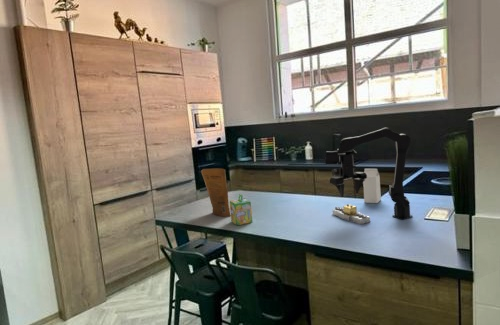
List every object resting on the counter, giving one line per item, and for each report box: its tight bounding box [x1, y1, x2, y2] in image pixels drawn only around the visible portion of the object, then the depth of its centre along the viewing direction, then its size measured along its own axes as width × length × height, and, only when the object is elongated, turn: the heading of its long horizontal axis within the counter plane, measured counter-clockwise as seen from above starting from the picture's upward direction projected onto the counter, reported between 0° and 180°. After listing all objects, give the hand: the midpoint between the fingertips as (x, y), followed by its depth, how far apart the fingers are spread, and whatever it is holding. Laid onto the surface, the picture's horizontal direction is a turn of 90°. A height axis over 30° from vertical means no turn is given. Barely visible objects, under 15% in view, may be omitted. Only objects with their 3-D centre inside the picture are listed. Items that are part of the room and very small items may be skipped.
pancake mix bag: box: [200, 167, 231, 218], centre depth 195 cm, size 7×19×28 cm, turn 45°
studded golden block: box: [342, 203, 358, 216], centre depth 167 cm, size 5×4×7 cm
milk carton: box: [362, 168, 382, 204], centre depth 191 cm, size 7×7×19 cm
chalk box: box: [229, 193, 253, 226], centre depth 178 cm, size 9×9×15 cm
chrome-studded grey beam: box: [332, 206, 371, 225], centre depth 167 cm, size 22×8×3 cm, turn 23°
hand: (349, 195), depth 166 cm, fingers open, 9 cm apart
